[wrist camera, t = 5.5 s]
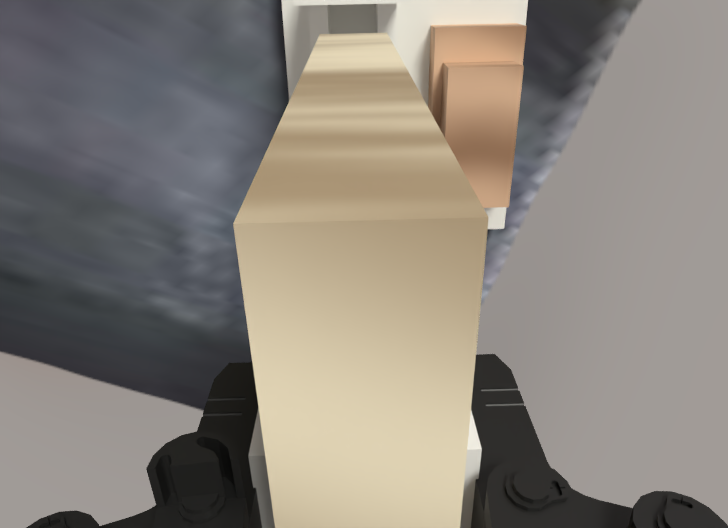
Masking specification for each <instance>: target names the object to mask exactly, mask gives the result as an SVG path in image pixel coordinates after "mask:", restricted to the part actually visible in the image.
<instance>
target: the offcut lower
mask: <svg viewBox="0 0 728 528" xmlns="http://www.w3.org/2000/svg"><path fill="white" fill-rule="evenodd" d="M526 27H527V26H524V25H521V24H518V23H503V24H457V25H431V34H430V64H429V93H428V108H429V110H430V112H431V114H432V115H433V117H434V119H435V121H436V123H437V125H438V126H439V128H440V119H441V97H442V74H443V63H447V62H492V61H515V62H517V63H519V64H520V65H523V55H524V46H525V37H526Z"/></svg>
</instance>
